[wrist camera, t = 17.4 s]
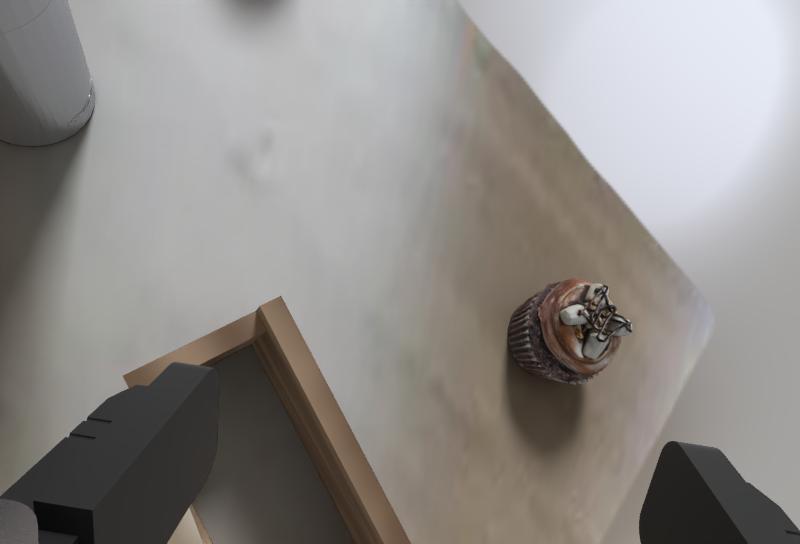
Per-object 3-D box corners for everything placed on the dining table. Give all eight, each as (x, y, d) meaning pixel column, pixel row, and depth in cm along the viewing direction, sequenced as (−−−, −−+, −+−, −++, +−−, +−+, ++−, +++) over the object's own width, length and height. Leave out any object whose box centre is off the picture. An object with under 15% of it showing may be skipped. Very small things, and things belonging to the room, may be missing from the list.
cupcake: (482, 338, 53) (542, 326, 44) (534, 272, 57) (600, 249, 48) (546, 406, 54) (619, 407, 45) (594, 337, 58) (669, 325, 49)
